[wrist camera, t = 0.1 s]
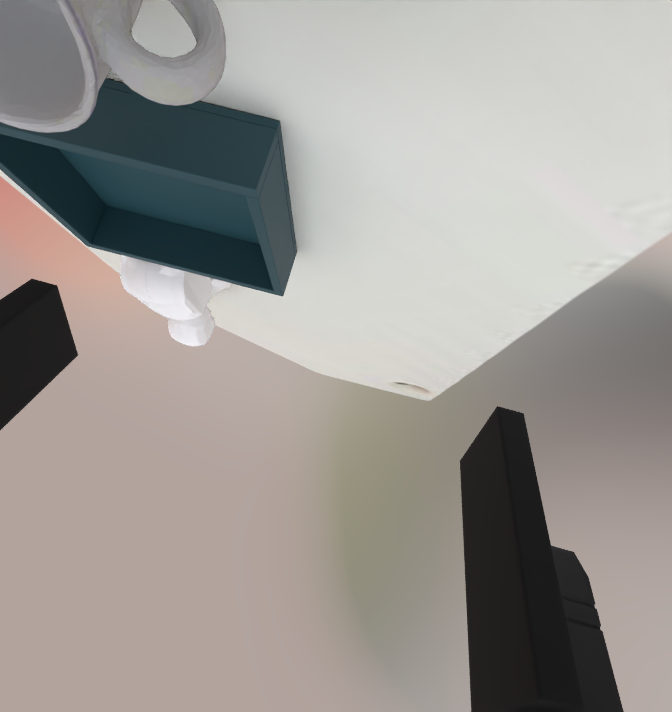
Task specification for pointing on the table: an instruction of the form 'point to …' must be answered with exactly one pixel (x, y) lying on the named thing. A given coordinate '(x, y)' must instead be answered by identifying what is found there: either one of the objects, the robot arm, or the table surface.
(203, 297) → the white figurine
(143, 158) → the tray
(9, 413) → the robot arm
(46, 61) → the teacup
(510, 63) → the table surface
